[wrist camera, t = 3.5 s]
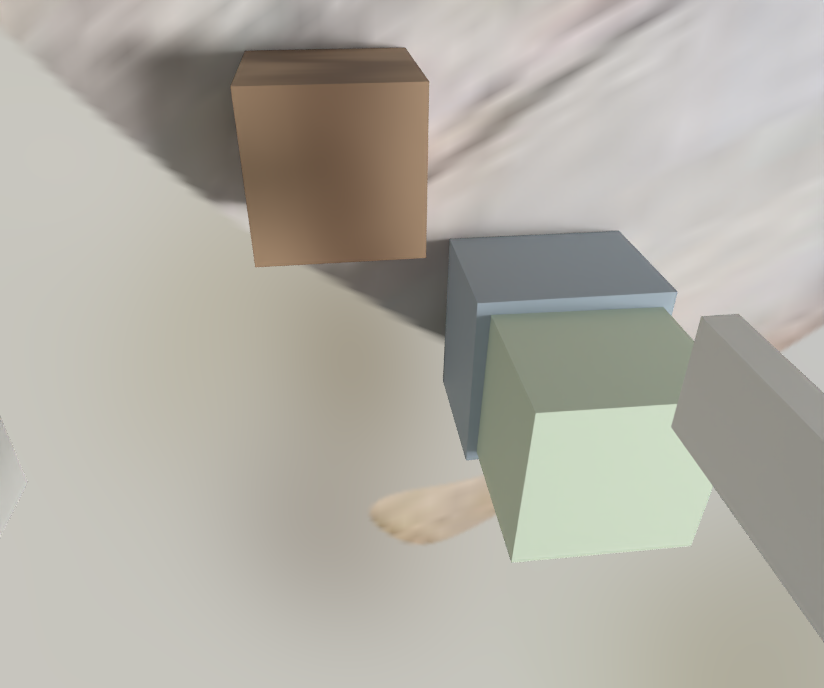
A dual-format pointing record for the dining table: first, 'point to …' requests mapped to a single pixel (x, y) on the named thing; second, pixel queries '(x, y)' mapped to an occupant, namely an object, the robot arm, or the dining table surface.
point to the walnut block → (333, 154)
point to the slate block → (532, 298)
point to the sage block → (588, 433)
